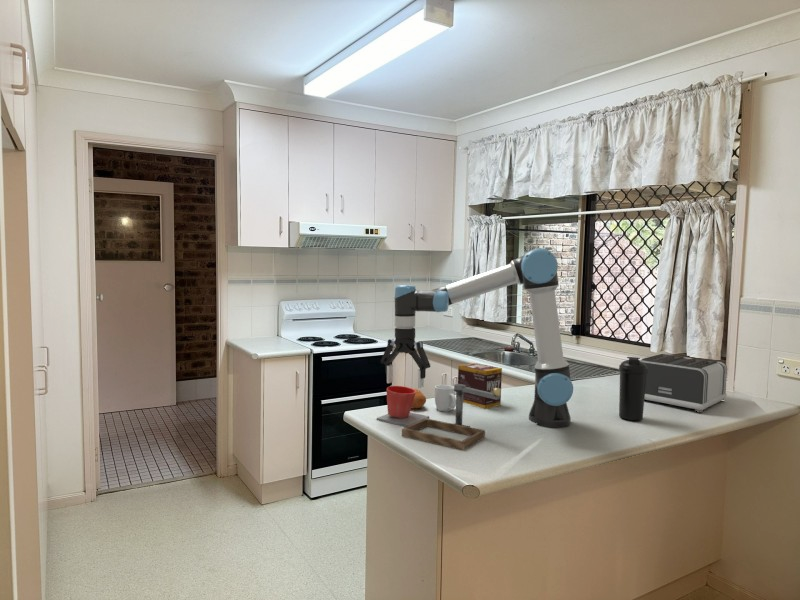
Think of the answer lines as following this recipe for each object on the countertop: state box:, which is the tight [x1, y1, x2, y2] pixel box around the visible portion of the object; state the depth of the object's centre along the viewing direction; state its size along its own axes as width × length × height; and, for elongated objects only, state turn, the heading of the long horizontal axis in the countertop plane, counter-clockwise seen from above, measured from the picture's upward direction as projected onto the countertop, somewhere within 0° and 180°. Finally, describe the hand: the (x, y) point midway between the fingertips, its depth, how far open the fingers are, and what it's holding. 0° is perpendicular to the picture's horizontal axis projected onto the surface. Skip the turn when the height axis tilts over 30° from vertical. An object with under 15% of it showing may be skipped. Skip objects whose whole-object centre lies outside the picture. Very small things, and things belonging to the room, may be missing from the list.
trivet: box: [376, 412, 430, 427], centre depth 206 cm, size 14×14×1 cm
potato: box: [410, 387, 427, 410], centre depth 222 cm, size 9×11×8 cm
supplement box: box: [457, 362, 503, 410], centre depth 232 cm, size 10×15×16 cm
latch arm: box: [453, 383, 502, 400], centre depth 189 cm, size 4×19×4 cm, turn 43°
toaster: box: [639, 353, 728, 413], centre depth 248 cm, size 31×36×18 cm
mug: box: [434, 384, 456, 412], centre depth 219 cm, size 11×8×9 cm
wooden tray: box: [401, 418, 486, 451], centre depth 187 cm, size 23×16×2 cm
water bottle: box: [618, 356, 648, 421], centre depth 216 cm, size 10×10×23 cm
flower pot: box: [386, 385, 416, 418], centre depth 207 cm, size 11×11×10 cm
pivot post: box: [454, 392, 471, 427], centre depth 196 cm, size 6×6×13 cm
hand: (404, 384), depth 206 cm, fingers open, 13 cm apart
